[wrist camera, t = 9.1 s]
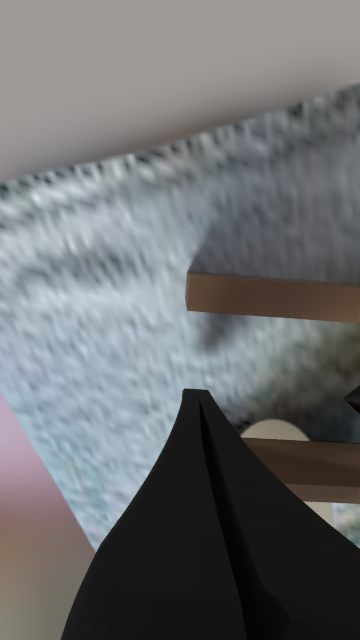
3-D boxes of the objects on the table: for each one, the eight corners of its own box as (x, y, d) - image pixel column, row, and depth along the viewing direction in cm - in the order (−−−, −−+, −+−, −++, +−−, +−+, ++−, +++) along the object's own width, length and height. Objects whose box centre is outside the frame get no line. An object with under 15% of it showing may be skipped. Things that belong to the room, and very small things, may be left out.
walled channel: (418, 462, 15) (485, 518, 12) (172, 450, 14) (170, 505, 11) (524, 295, 11) (672, 309, 8) (187, 269, 10) (191, 271, 7)
